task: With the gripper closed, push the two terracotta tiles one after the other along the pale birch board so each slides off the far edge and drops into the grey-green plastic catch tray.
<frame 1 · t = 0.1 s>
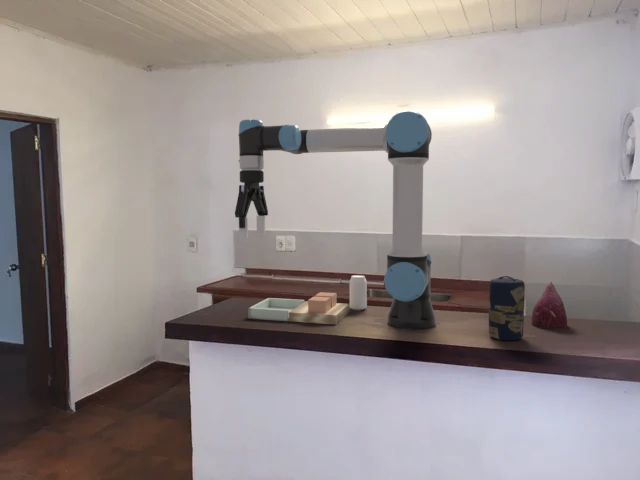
hand: (252, 237, 166), 28 cm above the counter, fingers open, 13 cm apart
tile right: (326, 305, 180), point 3 cm above the counter, touching board
board: (320, 316, 177), on the counter
vegetable: (548, 326, 164), on the counter
canister: (505, 338, 150), on the counter
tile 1: (319, 310, 172), point 3 cm above the counter, touching board
tray: (277, 313, 181), on the counter
beverage can: (358, 309, 188), on the counter
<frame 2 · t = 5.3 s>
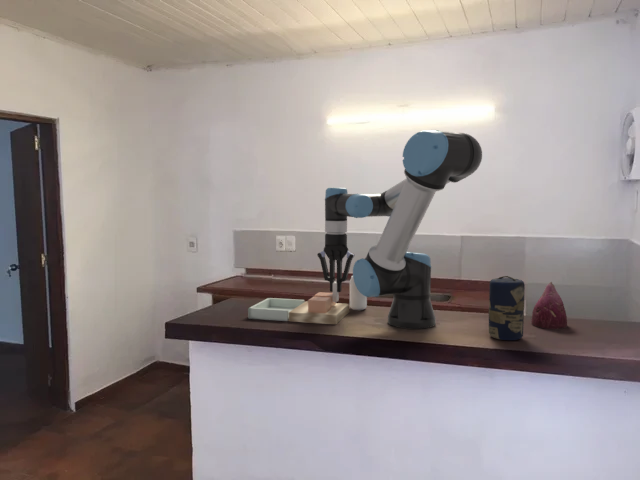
hand: (335, 301, 179), 5 cm above the counter, fingers closed
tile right: (324, 305, 180), point 3 cm above the counter, touching gripper
everything else where it was.
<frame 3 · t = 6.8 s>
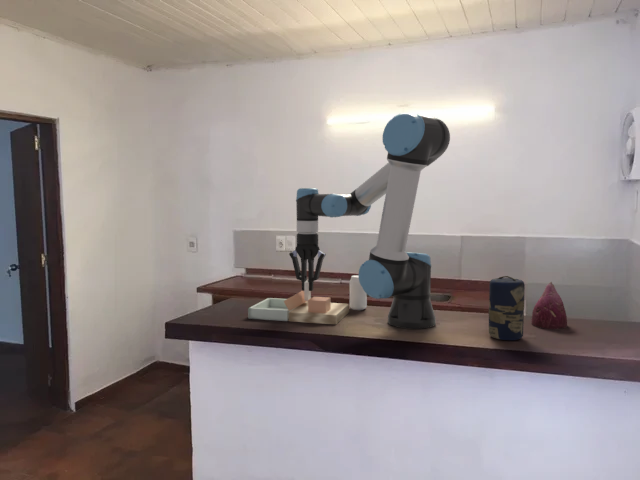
hand: (307, 299, 182), 5 cm above the counter, fingers closed
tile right: (298, 305, 183), point 2 cm above the counter, tilted 31°, touching board
everything else where it was.
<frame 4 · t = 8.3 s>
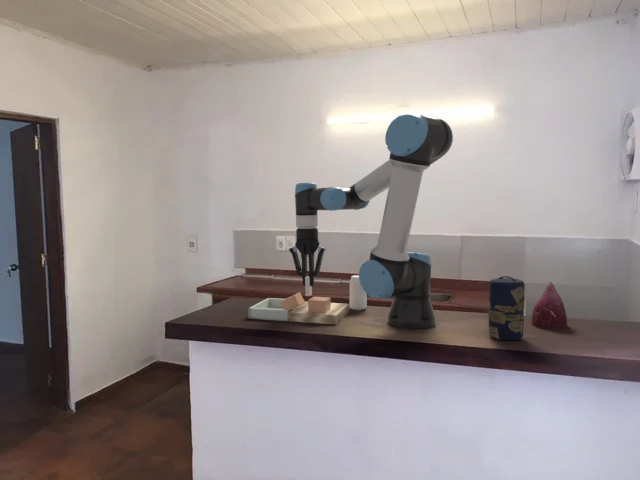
hand: (308, 295, 181), 6 cm above the counter, fingers closed
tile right: (295, 307, 183), point 2 cm above the counter, tilted 27°, touching board, tray
everything else where it was.
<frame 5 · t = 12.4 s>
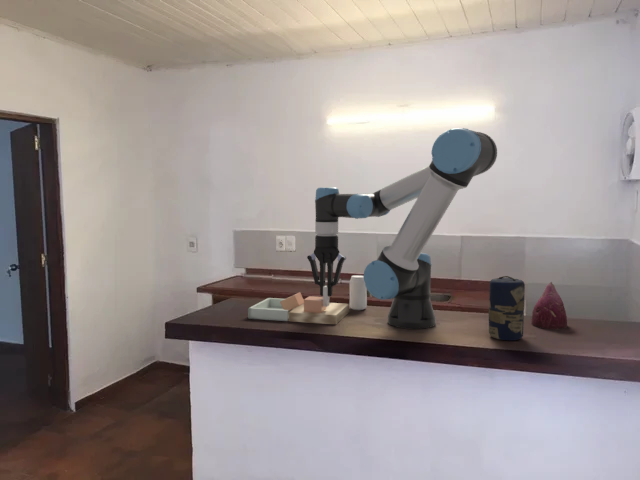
hand: (326, 305, 172), 5 cm above the counter, fingers closed
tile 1: (315, 310, 173), point 3 cm above the counter
everything else where it was.
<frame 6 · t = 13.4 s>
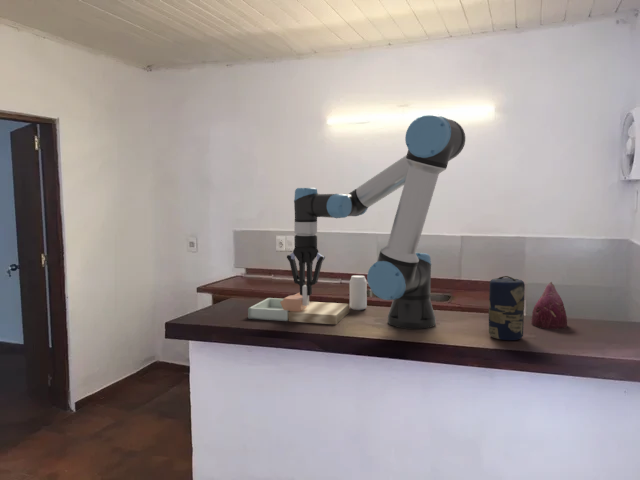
hand: (305, 304, 174), 5 cm above the counter, fingers closed
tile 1: (295, 309, 175), point 3 cm above the counter, touching board, gripper
everything else where it was.
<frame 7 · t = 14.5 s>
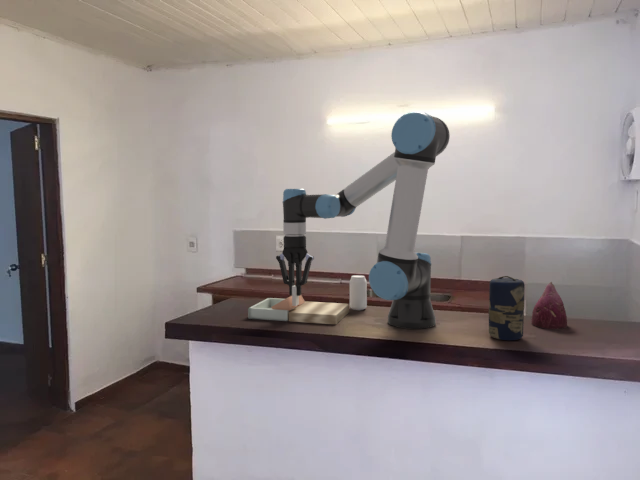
hand: (295, 305, 175), 4 cm above the counter, fingers closed
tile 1: (287, 311, 175), point 2 cm above the counter, tilted 30°, touching gripper, tray
everything else where it was.
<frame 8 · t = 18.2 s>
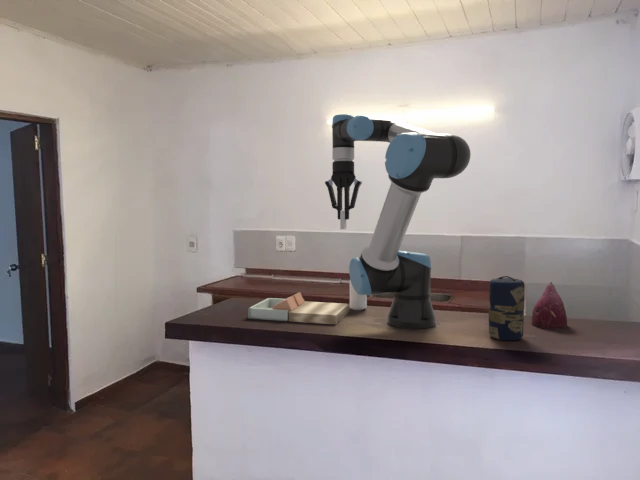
hand: (343, 228, 181), 29 cm above the counter, fingers closed
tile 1: (287, 312, 175), point 2 cm above the counter, tilted 27°, touching board, tray
everything else where it was.
at the end: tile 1 inside the target area (7.5 cm from its centre), point 1.8 cm above the counter; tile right inside the target area (7.3 cm from its centre), point 1.8 cm above the counter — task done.
